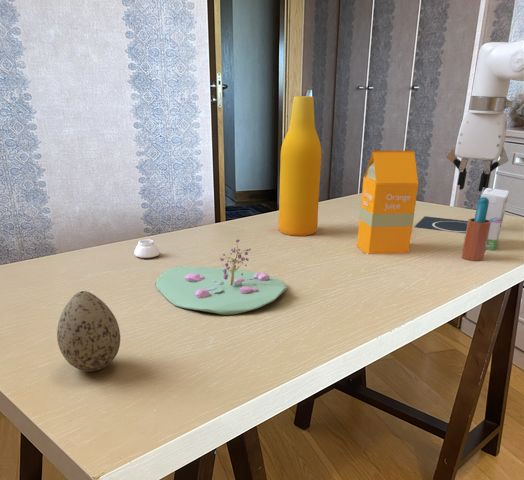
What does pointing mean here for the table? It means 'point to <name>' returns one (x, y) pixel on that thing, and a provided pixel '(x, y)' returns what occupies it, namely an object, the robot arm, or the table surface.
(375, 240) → the orange juice
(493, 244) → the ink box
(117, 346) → the decorative egg
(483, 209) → the marker
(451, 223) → the drawing mat
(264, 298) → the plant
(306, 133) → the beer bottle
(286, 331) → the table surface
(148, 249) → the white jar
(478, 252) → the pen cup
